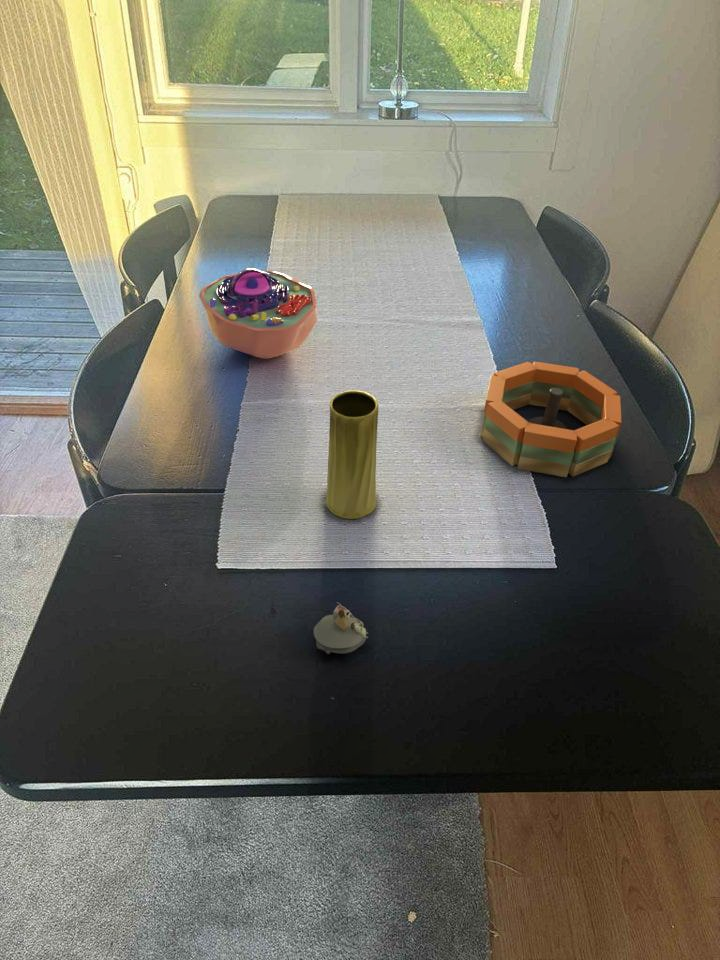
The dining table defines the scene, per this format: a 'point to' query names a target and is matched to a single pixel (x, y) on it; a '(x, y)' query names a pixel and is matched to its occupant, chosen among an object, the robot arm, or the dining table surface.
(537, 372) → the orange ring
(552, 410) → the ring stack
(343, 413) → the vase
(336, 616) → the figurine
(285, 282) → the cell model
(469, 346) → the dining table surface
